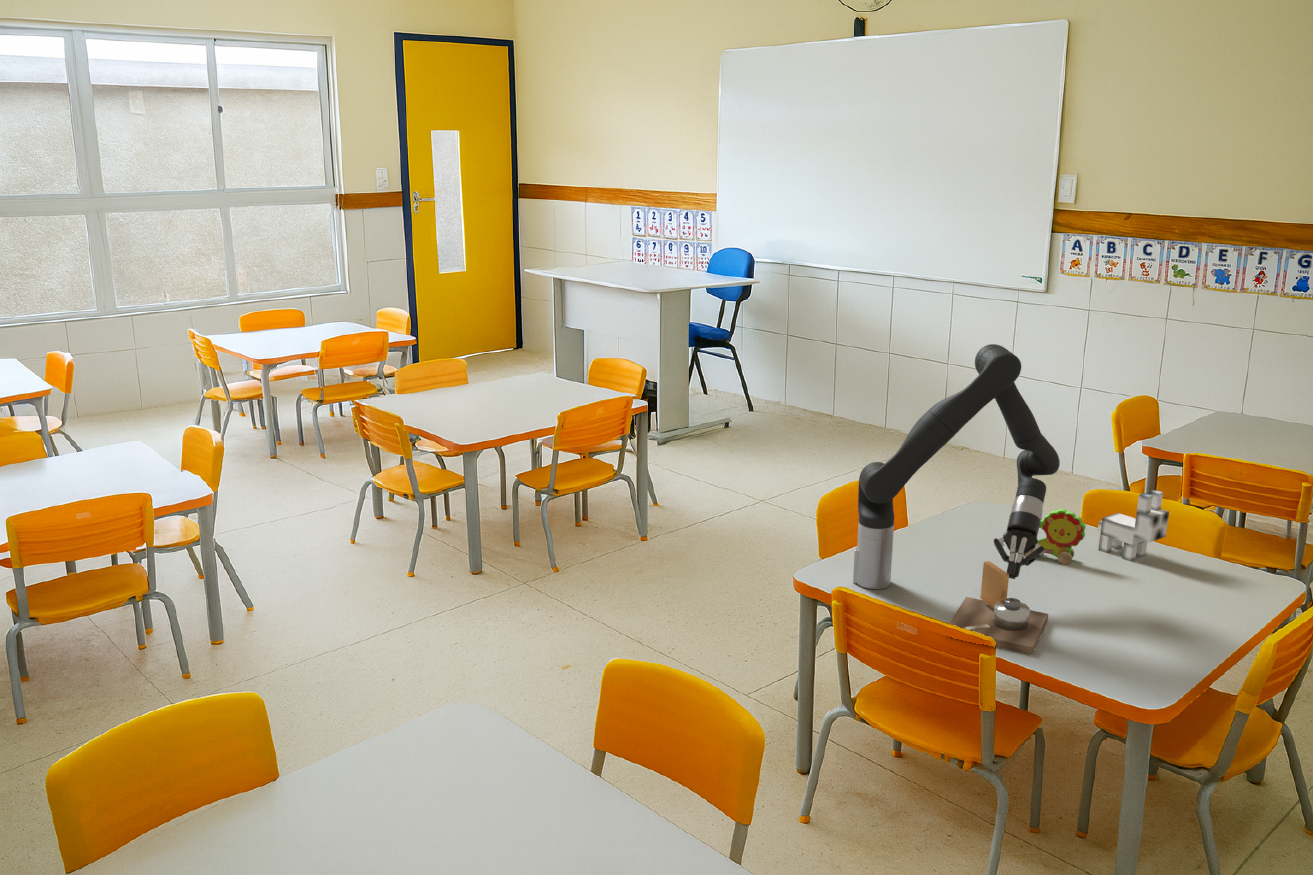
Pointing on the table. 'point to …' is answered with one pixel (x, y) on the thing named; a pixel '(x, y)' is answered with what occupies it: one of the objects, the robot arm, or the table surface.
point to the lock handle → (1002, 599)
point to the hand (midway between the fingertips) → (1011, 577)
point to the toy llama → (1135, 527)
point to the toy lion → (1061, 534)
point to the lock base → (980, 620)
